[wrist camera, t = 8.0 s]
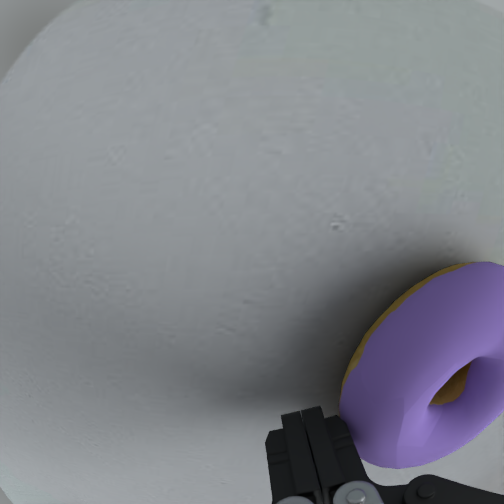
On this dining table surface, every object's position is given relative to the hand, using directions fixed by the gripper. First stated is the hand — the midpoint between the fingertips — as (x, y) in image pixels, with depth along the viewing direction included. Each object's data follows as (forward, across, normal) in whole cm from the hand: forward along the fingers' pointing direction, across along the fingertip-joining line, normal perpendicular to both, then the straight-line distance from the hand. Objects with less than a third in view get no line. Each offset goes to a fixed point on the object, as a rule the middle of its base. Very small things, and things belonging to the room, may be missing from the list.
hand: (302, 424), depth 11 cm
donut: (+2, -6, 0) cm, 6 cm away
